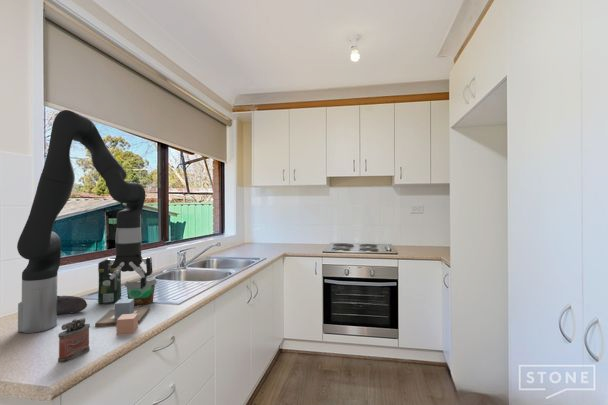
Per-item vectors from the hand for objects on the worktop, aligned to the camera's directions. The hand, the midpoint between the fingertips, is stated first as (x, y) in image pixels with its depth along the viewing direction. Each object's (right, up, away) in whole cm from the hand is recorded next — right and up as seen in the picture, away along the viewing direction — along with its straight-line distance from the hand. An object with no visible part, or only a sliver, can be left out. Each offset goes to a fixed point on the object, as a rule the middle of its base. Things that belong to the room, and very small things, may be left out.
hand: (128, 289), depth 102 cm
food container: (-11, -14, +26) cm, 32 cm away
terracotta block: (0, -14, 0) cm, 14 cm away
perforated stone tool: (-34, -14, +15) cm, 40 cm away
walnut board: (-8, -14, +11) cm, 20 cm away
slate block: (-8, -13, +11) cm, 19 cm away
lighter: (-5, -14, -17) cm, 23 cm away
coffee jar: (-26, -14, +31) cm, 43 cm away
